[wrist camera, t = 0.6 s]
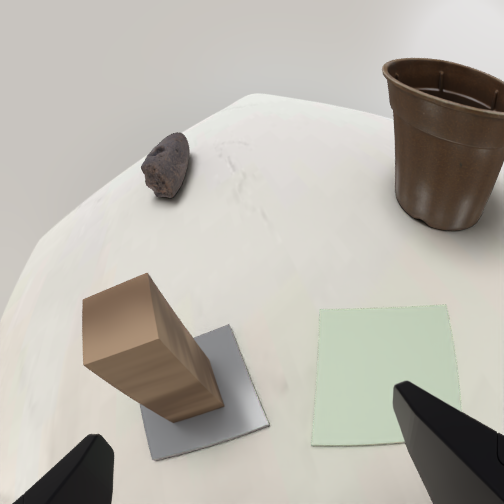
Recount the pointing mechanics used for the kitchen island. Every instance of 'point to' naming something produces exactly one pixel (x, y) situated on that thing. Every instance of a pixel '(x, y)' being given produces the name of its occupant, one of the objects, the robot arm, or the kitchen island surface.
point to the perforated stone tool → (167, 165)
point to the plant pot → (445, 139)
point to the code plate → (217, 421)
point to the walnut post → (147, 351)
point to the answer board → (378, 370)
